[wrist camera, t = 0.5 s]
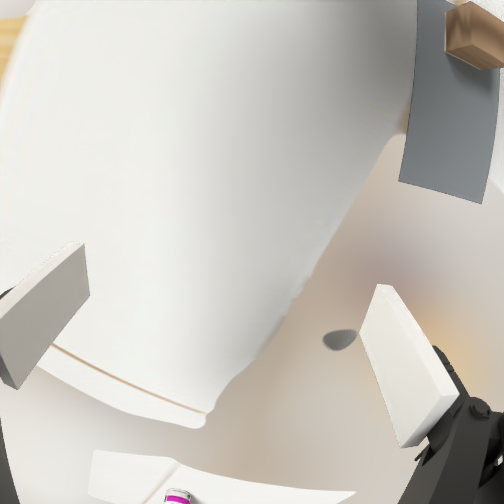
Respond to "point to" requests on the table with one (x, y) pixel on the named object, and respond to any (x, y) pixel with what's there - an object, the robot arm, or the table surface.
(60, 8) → the table surface
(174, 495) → the supplement can
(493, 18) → the light wooden block
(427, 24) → the rubber mat
